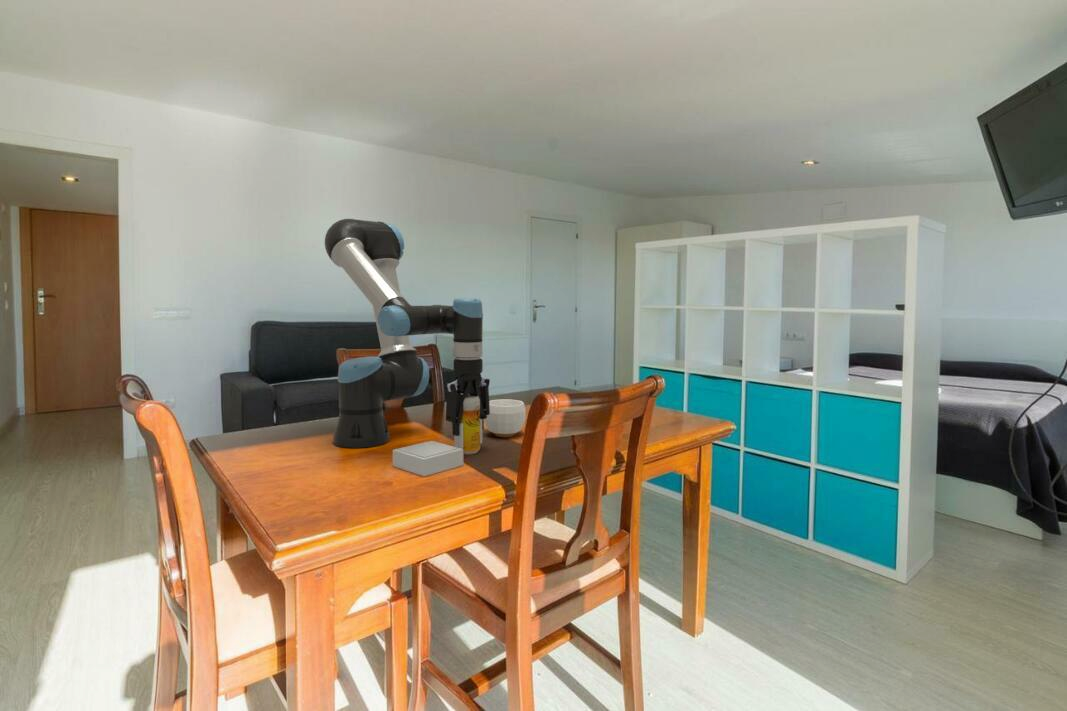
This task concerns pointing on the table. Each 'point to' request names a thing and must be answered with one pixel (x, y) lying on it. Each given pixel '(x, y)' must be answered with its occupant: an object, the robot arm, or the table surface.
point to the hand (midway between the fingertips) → (468, 444)
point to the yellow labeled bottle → (471, 425)
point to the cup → (505, 417)
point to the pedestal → (427, 458)
